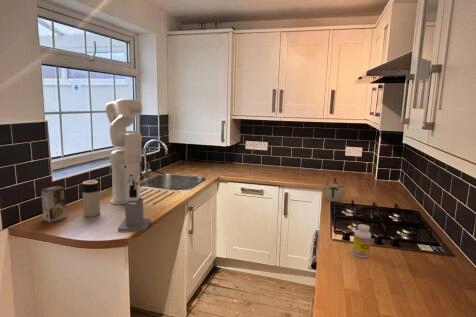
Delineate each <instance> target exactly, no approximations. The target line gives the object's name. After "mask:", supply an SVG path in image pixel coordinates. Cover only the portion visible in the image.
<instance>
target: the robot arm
mask: <svg viewBox="0 0 476 317" xmlns="http://www.w3.org/2000/svg"><path fill="white" fill-rule="evenodd" d="M142 113H143V106H142V103H141V101H140V100H139V99H136V98H135V99H133V98H132V99H131V98H120V99H119V98H118V99H117V100H115V101H110V102H107V103H106V104H105V114H106V116H107V118H108V121H109V123H110V127H109V137H110V142H111V144H112V147H114V148H117V149H118V148H119V149H118V150H113V151H111V152H110V154H109V161H110V166H111V177H112V178H111V180H112V198H110V204H112V205H125V202H126V201H127V199H128V185H129V197H130V198H136V197H137V195H136V183H139V182H140V178H141V165H140V164H141V163H142V162H143V161H142V158H143V157H142V141H143V137H142V134H141V133H140V131H138V130H127V128H128V127H130V126H132V125H133V124H134V121H135V117H138V116H140V115H141V114H142ZM121 148H123V149H121ZM133 184H134V185H133Z"/></svg>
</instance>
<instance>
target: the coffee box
mask: <svg viewBox="0 0 476 317" xmlns="http://www.w3.org/2000/svg"><path fill="white" fill-rule="evenodd" d="M40 193H41V205H42V207H41V208H42V218H43V221H46V222H48V223H53V222H55V221H56V222H57V221H59V220H62V219H65V218H68V209H67V208H68V207H67V199H66V188H65V187H63V186H60V185H56V186H50V187H47V188H41V189H40Z"/></svg>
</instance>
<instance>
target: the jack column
mask: <svg viewBox="0 0 476 317" xmlns="http://www.w3.org/2000/svg"><path fill="white" fill-rule="evenodd" d="M133 185H134V184H133ZM136 195H137V197H136V198H130V197H129V185H128V202H139V201H140V198H141V182H138V183H136Z"/></svg>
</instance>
